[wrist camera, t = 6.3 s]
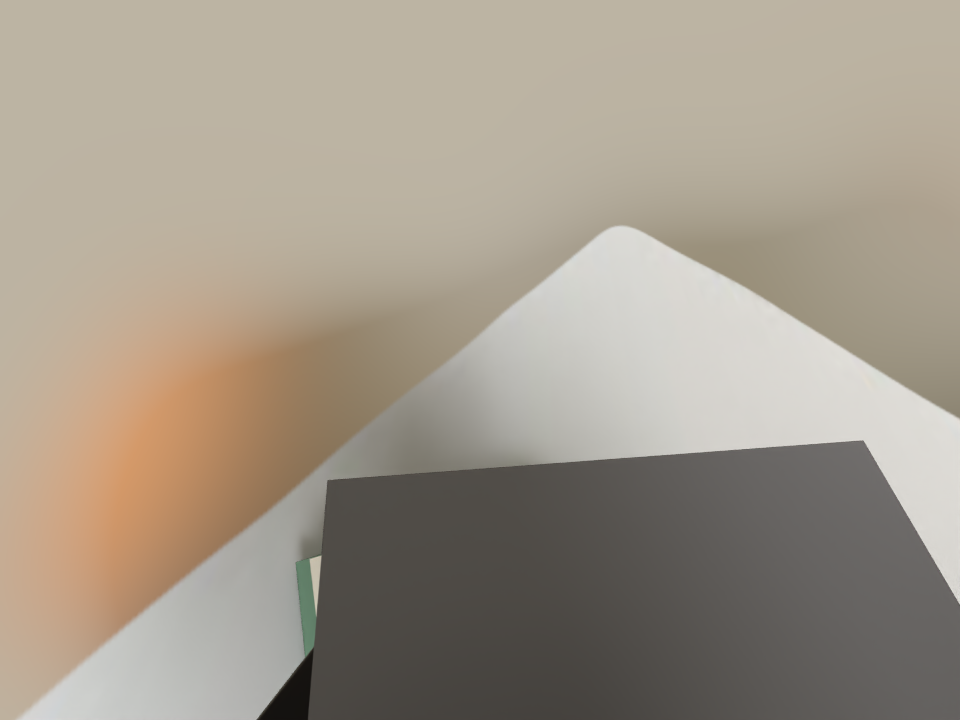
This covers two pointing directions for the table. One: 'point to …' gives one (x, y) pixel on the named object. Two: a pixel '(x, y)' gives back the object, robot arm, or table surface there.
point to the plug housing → (634, 593)
